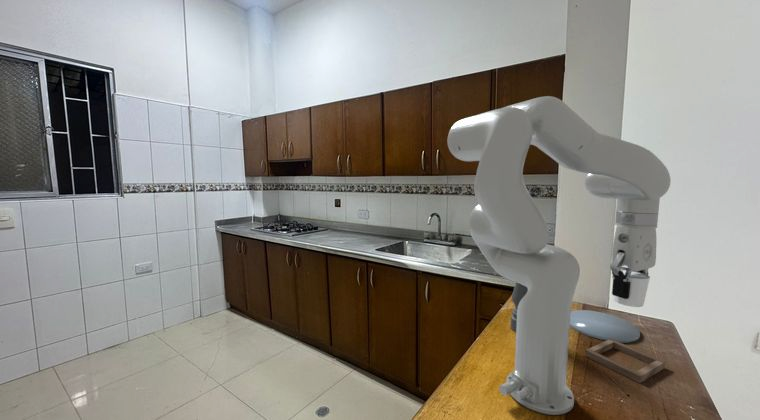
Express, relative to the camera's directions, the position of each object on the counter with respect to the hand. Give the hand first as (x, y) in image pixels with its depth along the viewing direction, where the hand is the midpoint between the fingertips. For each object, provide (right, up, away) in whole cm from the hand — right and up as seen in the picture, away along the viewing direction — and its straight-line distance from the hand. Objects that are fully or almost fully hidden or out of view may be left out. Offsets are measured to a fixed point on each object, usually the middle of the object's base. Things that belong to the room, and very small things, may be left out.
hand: (628, 293), depth 73 cm
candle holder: (-17, -16, +18) cm, 30 cm away
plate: (+7, -15, +19) cm, 26 cm away
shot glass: (0, -2, 0) cm, 2 cm away
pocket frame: (0, -17, +2) cm, 17 cm away
